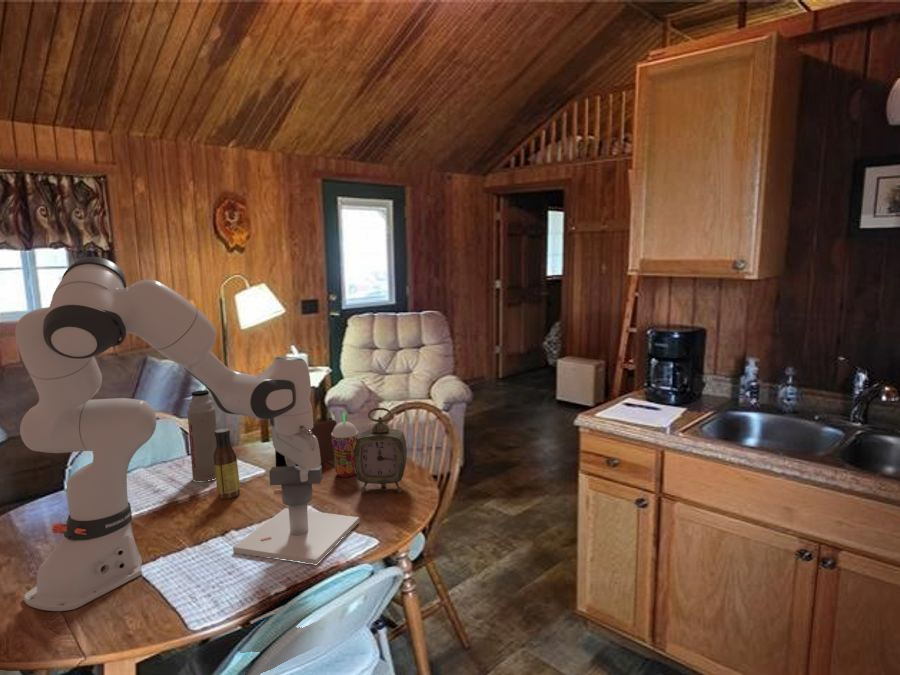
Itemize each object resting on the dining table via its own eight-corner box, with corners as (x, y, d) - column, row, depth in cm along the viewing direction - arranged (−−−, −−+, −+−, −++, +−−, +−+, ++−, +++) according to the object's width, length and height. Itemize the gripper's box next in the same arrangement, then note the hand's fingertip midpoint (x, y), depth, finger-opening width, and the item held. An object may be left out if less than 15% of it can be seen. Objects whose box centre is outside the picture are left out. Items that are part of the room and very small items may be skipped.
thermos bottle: (193, 484, 178) (185, 395, 174) (192, 475, 185) (185, 390, 181) (220, 479, 181) (214, 392, 177) (219, 471, 189) (213, 387, 185)
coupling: (324, 492, 146) (323, 462, 145) (319, 504, 139) (318, 473, 137) (276, 494, 145) (274, 463, 144) (268, 506, 138) (266, 474, 137)
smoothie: (328, 477, 182) (325, 416, 179) (340, 468, 190) (338, 409, 187) (352, 480, 179) (349, 417, 176) (364, 470, 187) (361, 410, 184)
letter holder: (339, 456, 202) (337, 417, 200) (297, 475, 185) (295, 432, 183) (317, 451, 207) (315, 413, 205) (275, 469, 190) (272, 428, 188)
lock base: (316, 566, 130) (314, 526, 128) (233, 552, 136) (230, 514, 135) (359, 522, 150) (358, 488, 149) (285, 513, 157) (283, 479, 156)
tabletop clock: (355, 495, 168) (352, 411, 164) (361, 483, 177) (358, 403, 173) (405, 495, 167) (402, 411, 164) (408, 483, 176) (406, 403, 173)
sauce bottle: (244, 491, 172) (239, 426, 169) (234, 500, 166) (229, 433, 163) (223, 490, 173) (218, 426, 170) (212, 499, 166) (207, 433, 164)
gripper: (325, 429, 133) (329, 486, 135) (289, 411, 149) (293, 462, 151) (300, 434, 129) (303, 493, 131) (265, 416, 145) (269, 468, 147)
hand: (297, 476), depth 141 cm, fingers closed on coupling, 5 cm apart
